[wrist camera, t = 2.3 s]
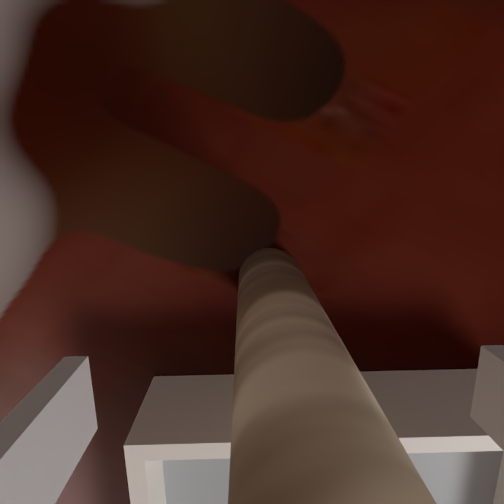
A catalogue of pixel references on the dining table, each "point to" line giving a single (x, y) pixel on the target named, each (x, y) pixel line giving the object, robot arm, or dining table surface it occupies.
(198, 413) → the box
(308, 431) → the peg
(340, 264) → the dining table surface
